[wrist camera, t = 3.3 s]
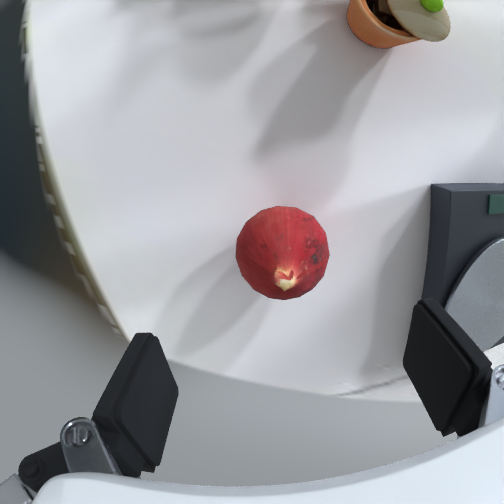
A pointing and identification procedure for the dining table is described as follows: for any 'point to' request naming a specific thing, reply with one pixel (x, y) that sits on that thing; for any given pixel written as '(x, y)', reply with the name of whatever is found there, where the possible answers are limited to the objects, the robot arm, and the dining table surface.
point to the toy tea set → (398, 21)
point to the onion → (282, 252)
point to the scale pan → (481, 296)
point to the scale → (460, 232)
